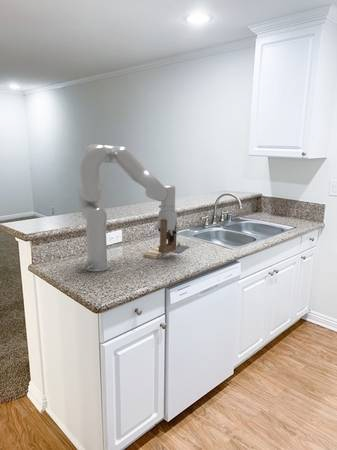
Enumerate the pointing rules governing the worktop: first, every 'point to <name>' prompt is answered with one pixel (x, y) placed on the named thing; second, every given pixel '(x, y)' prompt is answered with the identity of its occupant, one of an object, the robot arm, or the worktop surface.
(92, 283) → the worktop surface
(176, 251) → the end mark
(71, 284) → the worktop surface
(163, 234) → the wooden block
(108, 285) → the worktop surface
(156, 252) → the wooden slatted rack
